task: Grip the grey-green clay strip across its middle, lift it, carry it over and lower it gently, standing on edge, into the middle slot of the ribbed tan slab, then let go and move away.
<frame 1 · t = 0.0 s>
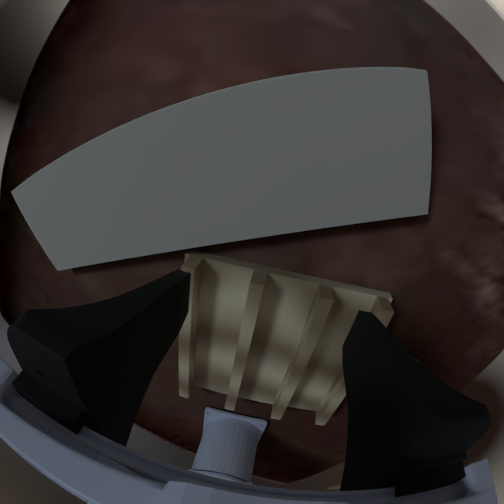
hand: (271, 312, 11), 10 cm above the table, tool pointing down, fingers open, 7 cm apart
grey rectangular block: (189, 172, 20), on the table
ribbed tan slab: (272, 345, 25), on the table
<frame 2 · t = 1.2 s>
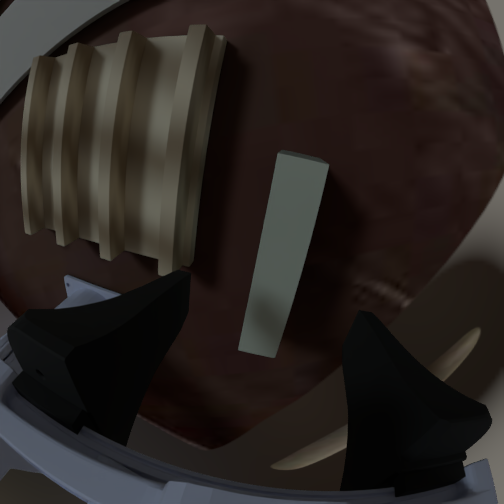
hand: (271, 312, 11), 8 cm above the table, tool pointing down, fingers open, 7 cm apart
grey rectangular block: (67, 13, 13), on the table
ribbed tan slab: (104, 142, 18), on the table
clay strip: (281, 240, 19), on the table
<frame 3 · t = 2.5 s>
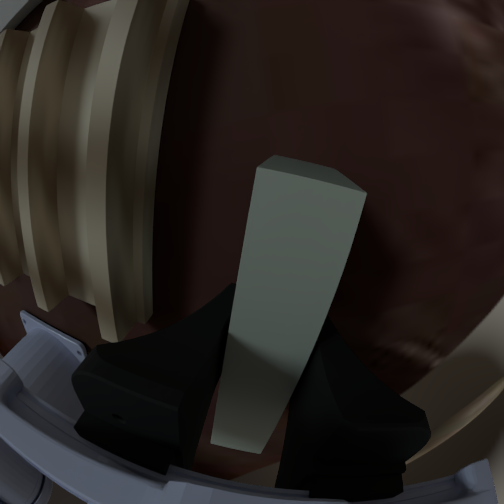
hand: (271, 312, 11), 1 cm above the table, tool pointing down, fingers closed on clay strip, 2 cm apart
grey rectangular block: (19, 1, 7), on the table
ribbed tan slab: (38, 153, 11), on the table
clay strip: (273, 294, 13), on the table, touching gripper
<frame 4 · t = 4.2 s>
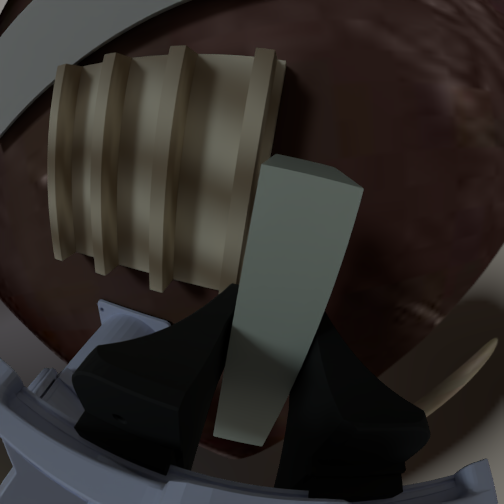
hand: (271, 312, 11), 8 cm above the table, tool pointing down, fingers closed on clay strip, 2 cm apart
grey rectangular block: (93, 19, 14), on the table
ribbed tan slab: (147, 165, 18), on the table
clay strip: (275, 288, 13), point 6 cm above the table, touching gripper
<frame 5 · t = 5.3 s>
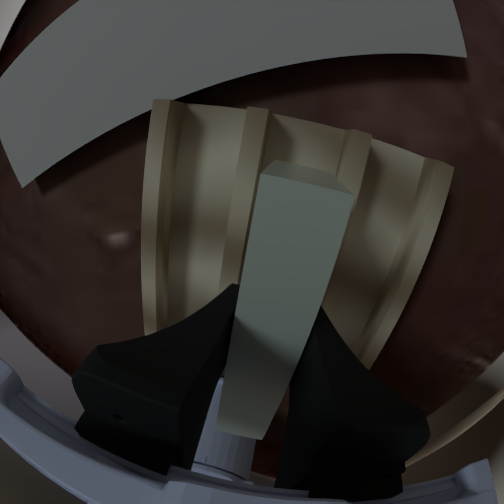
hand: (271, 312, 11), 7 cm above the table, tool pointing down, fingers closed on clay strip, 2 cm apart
grey rectangular block: (184, 33, 13), on the table
ribbed tan slab: (280, 249, 17), on the table
clay strip: (274, 288, 14), point 4 cm above the table, touching gripper
when the fingers open (4 cm above the table, at t = 6.1 s): clay strip stays where it is, resting on ribbed tan slab.
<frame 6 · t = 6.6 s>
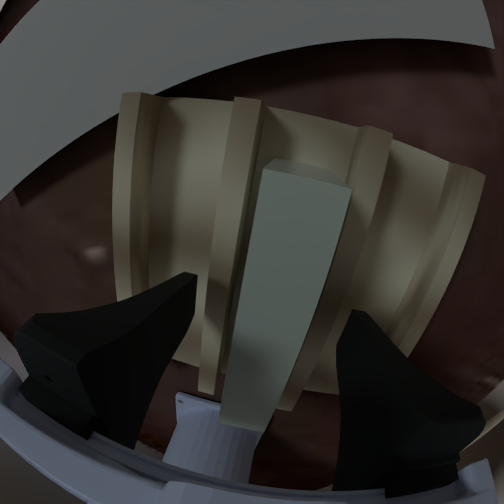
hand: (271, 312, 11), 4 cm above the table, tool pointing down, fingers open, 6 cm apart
grey rectangular block: (167, 20, 11), on the table
ribbed tan slab: (277, 270, 15), on the table
clay strip: (275, 282, 14), point 1 cm above the table, touching ribbed tan slab
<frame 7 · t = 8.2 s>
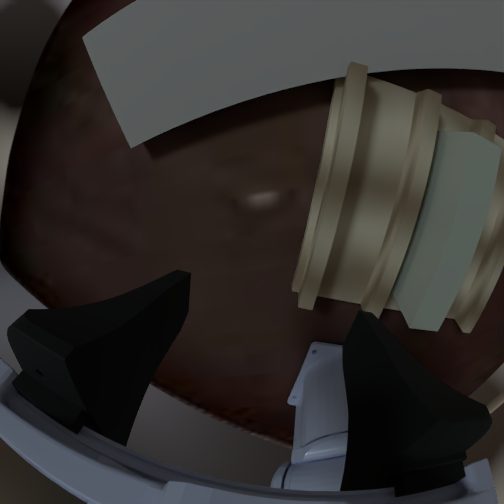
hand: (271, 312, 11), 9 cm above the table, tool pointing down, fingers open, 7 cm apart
grey rectangular block: (340, 17, 13), on the table
ribbed tan slab: (423, 211, 17), on the table
clay strip: (428, 217, 16), point 1 cm above the table, touching ribbed tan slab
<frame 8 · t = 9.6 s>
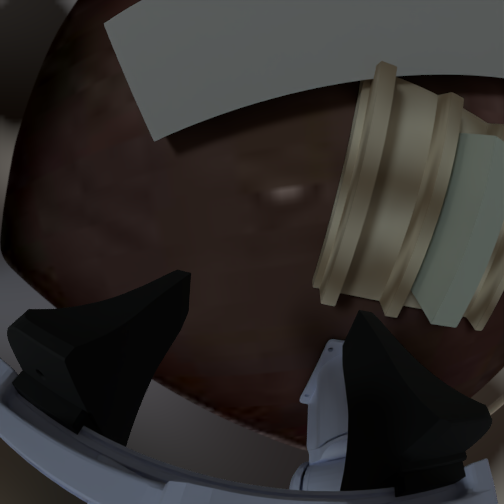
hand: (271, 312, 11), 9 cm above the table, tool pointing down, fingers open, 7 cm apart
grey rectangular block: (367, 19, 13), on the table
ribbed tan slab: (441, 210, 17), on the table
clay strip: (447, 216, 16), point 1 cm above the table, touching ribbed tan slab
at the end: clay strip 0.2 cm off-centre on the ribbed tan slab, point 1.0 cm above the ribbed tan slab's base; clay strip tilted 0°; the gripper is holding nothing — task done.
